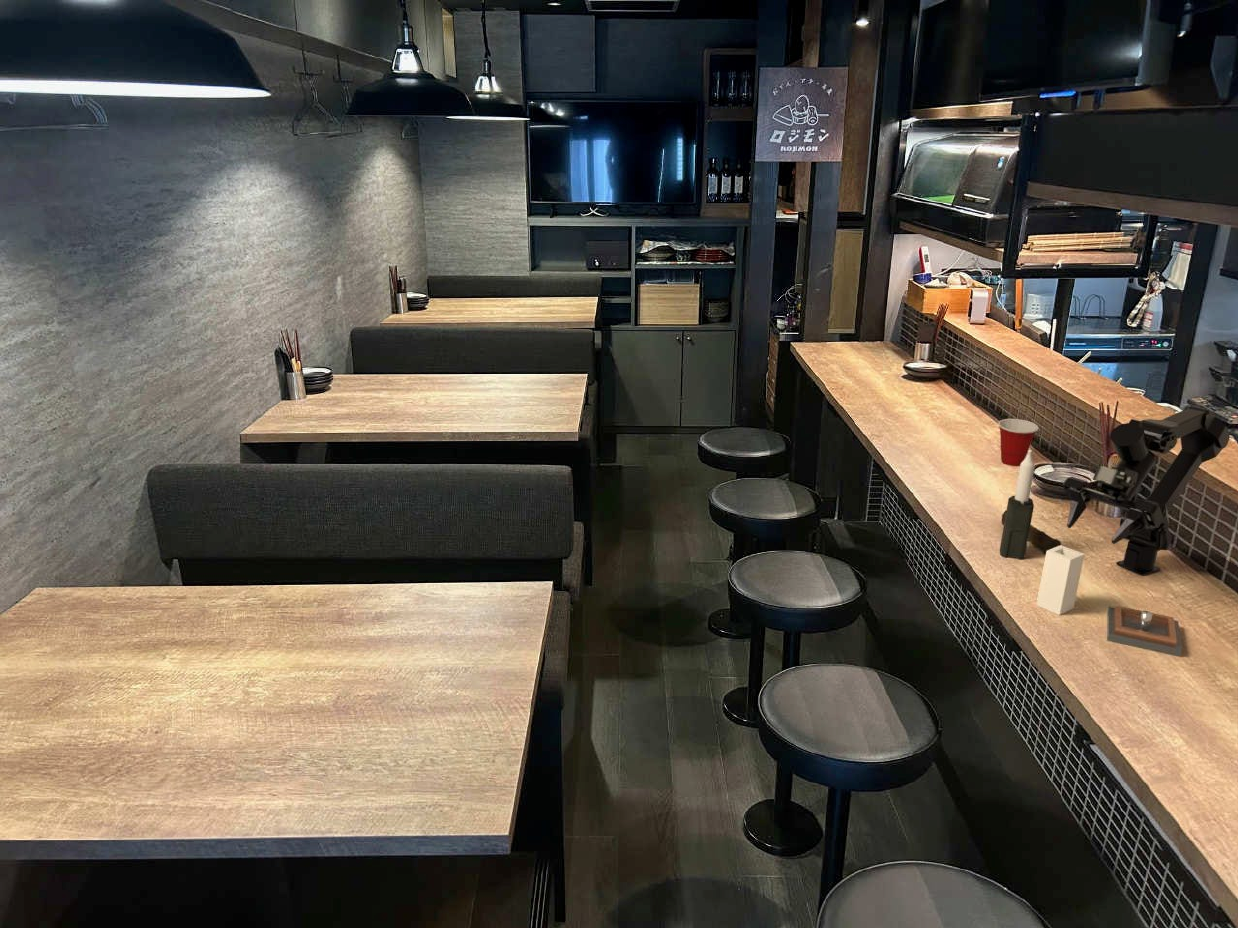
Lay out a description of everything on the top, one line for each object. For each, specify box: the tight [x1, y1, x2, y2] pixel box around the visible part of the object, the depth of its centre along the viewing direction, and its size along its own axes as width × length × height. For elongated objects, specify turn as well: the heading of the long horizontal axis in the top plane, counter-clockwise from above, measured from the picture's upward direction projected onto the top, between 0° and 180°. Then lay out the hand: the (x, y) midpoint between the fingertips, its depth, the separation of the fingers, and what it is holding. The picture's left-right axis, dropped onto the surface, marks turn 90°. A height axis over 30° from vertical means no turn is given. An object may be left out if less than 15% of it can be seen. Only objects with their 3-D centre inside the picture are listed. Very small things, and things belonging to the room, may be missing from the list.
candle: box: [999, 449, 1036, 561], centre depth 205 cm, size 5×5×25 cm
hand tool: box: [1001, 510, 1062, 556], centre depth 217 cm, size 19×4×5 cm, turn 11°
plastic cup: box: [997, 418, 1039, 467], centre depth 267 cm, size 11×11×12 cm
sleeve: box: [1035, 544, 1085, 616], centre depth 183 cm, size 5×5×12 cm
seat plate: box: [1106, 605, 1183, 658], centre depth 175 cm, size 12×12×4 cm
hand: (1090, 534), depth 185 cm, fingers open, 9 cm apart
